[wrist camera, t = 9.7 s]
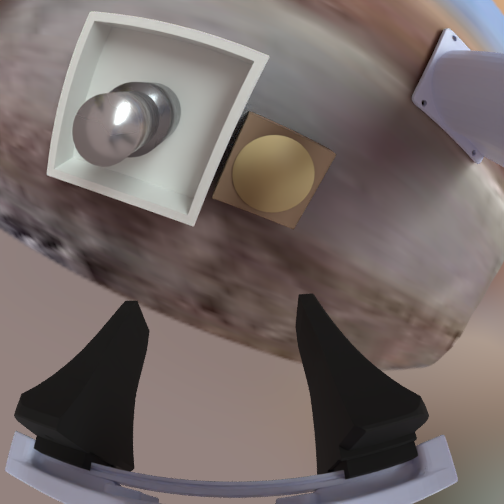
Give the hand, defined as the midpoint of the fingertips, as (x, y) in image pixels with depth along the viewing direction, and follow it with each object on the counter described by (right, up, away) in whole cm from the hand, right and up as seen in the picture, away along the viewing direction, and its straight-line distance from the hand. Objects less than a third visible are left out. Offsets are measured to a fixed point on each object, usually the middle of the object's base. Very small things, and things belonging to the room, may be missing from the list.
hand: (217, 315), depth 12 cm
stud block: (+3, +8, +6) cm, 11 cm away
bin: (-5, +12, +4) cm, 14 cm away
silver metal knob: (-5, +12, +3) cm, 13 cm away
